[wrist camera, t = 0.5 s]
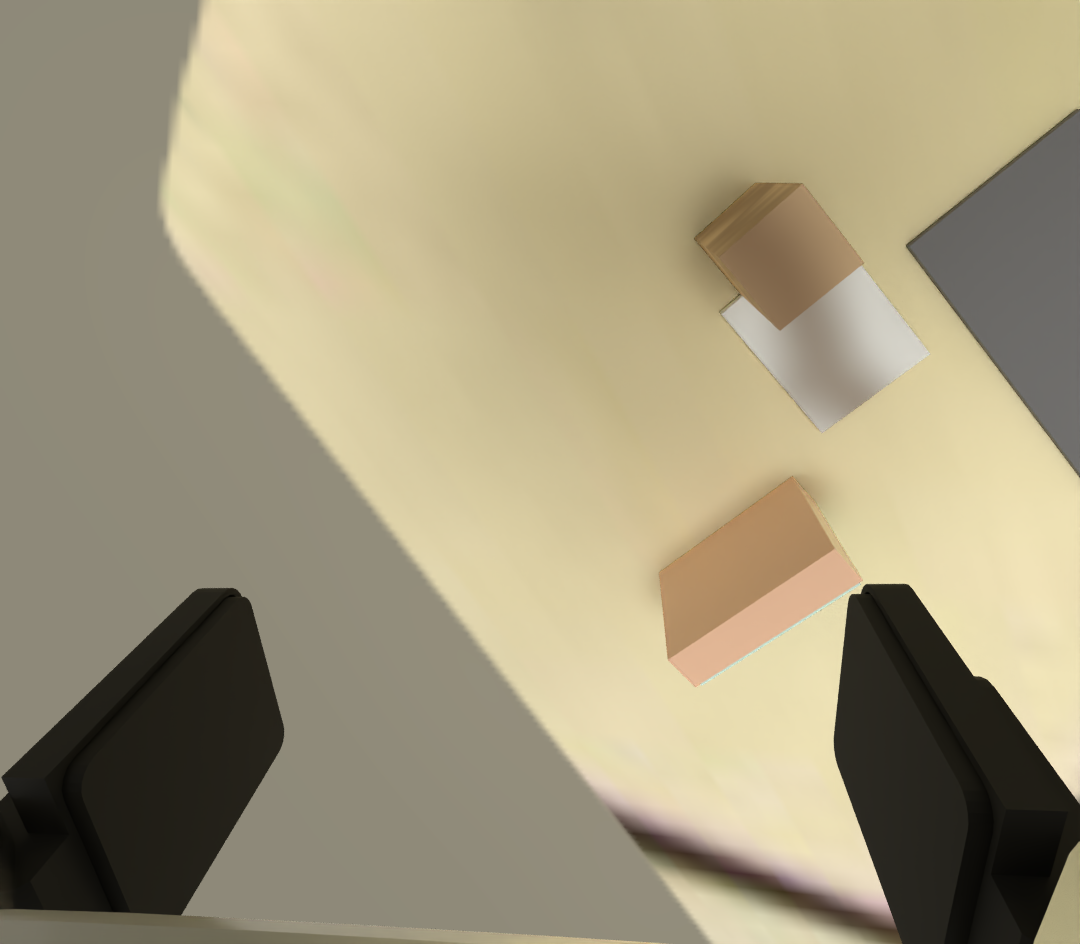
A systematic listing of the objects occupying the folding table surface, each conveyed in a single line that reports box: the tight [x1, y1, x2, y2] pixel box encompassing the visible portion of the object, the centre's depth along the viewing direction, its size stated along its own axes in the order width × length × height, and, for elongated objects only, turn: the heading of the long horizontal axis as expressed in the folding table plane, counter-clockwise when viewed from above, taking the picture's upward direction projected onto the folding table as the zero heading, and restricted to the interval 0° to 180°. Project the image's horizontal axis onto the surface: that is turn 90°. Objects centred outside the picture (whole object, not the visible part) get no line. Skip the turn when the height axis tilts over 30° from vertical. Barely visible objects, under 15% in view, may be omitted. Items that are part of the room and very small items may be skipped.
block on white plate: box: [694, 183, 930, 433], centre depth 30 cm, size 6×12×9 cm, turn 44°
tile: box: [659, 476, 863, 687], centre depth 35 cm, size 9×2×8 cm, turn 133°
